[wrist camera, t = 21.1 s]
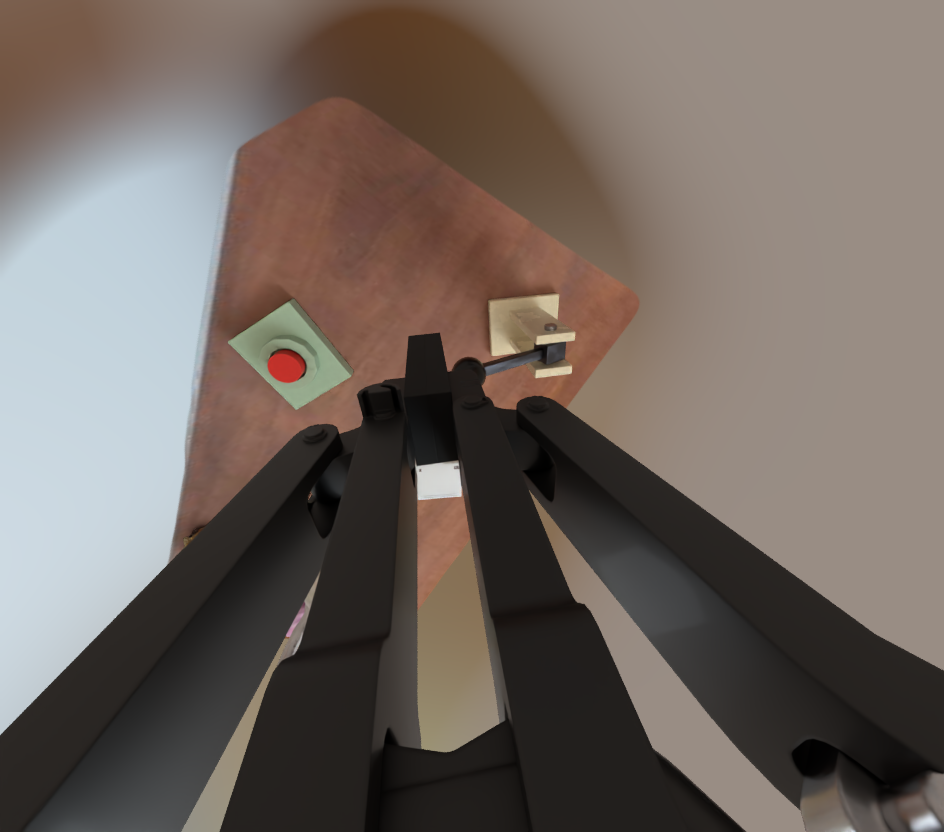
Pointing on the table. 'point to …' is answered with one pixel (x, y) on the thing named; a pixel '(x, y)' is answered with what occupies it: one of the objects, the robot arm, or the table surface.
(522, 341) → the cream lever bracket
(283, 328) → the button block
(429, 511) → the table surface
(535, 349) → the lever
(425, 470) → the small box
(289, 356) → the button
